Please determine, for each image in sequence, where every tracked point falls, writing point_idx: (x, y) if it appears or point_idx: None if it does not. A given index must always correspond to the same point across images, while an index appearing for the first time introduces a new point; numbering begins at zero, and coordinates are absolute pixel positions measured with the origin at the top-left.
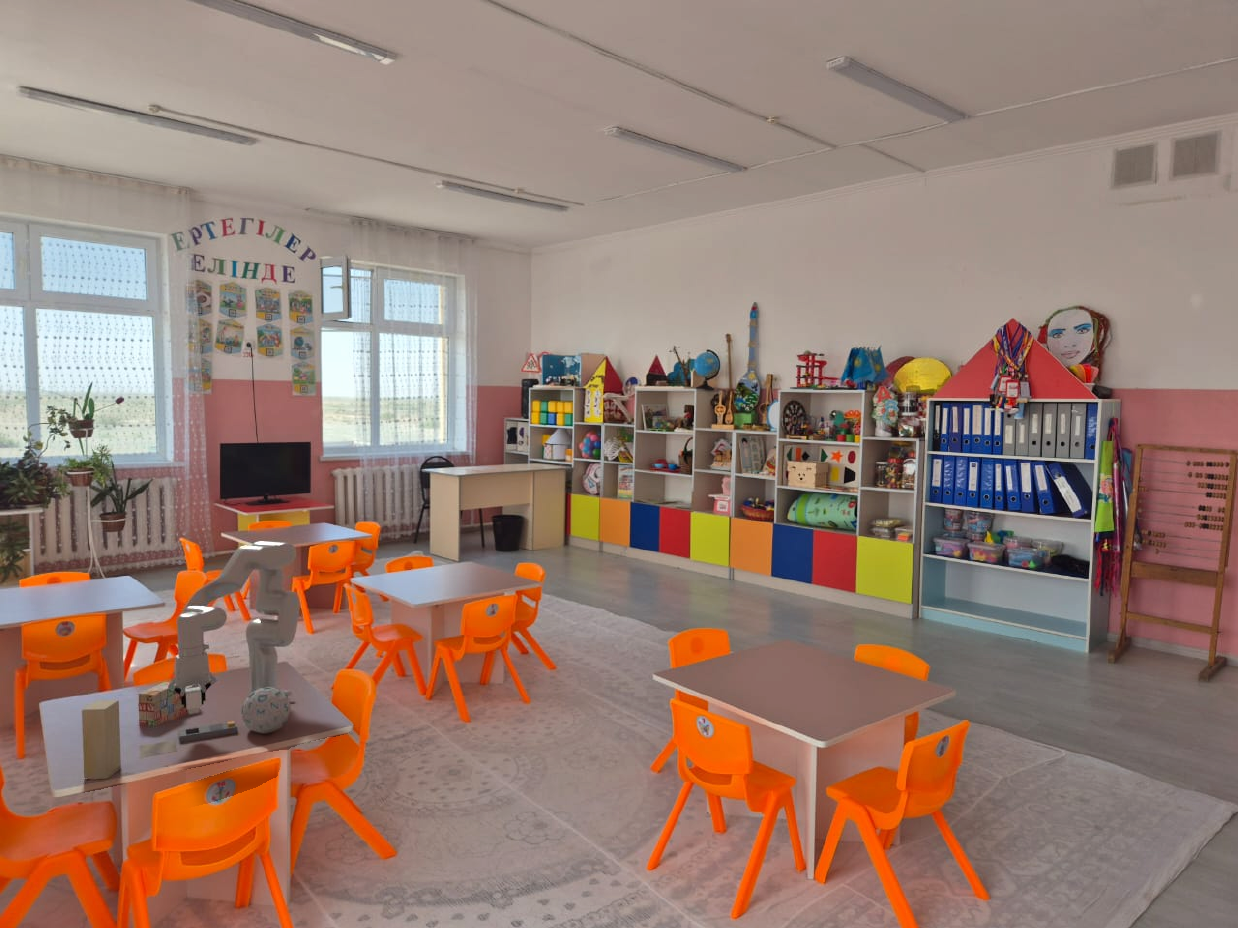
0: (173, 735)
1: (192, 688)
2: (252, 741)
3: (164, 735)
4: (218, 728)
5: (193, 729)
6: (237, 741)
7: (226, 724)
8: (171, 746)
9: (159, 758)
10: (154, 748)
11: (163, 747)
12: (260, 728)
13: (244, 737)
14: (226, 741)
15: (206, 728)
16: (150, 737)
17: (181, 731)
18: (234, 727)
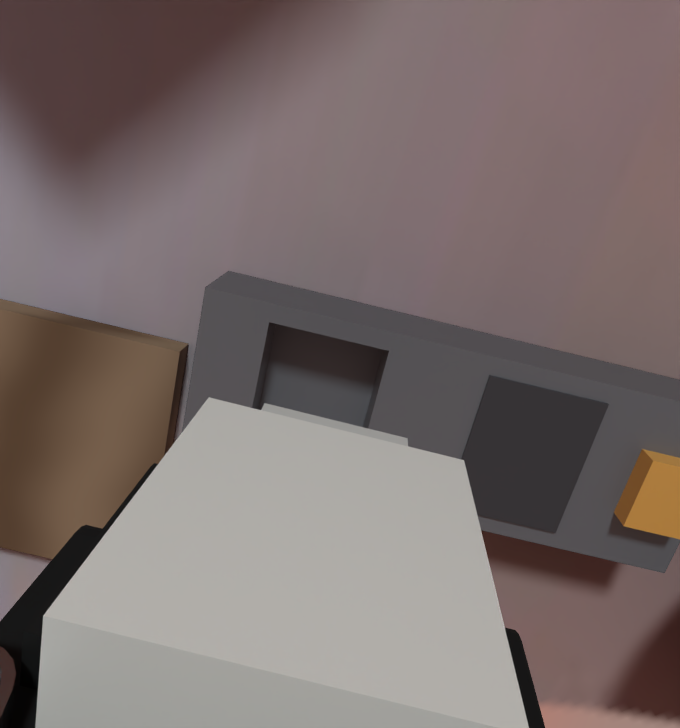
0: (213, 135)
1: (269, 725)
2: (645, 688)
3: (141, 70)
4: (521, 509)
5: (343, 334)
6: (570, 624)
7: (629, 452)
8: (127, 470)
9: (40, 557)
10: (6, 423)
11: (70, 448)
12: None
13: (647, 590)
14: (511, 575)
15: (439, 428)
16: (17, 28)
17: (225, 341)
18: (641, 567)
